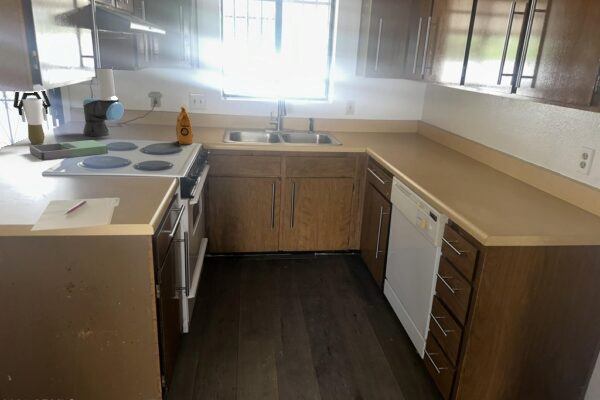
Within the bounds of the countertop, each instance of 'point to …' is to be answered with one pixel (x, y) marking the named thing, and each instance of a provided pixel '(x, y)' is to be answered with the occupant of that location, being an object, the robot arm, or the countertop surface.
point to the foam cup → (33, 110)
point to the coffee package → (184, 128)
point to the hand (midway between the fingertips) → (34, 120)
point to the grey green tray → (68, 149)
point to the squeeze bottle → (36, 134)
